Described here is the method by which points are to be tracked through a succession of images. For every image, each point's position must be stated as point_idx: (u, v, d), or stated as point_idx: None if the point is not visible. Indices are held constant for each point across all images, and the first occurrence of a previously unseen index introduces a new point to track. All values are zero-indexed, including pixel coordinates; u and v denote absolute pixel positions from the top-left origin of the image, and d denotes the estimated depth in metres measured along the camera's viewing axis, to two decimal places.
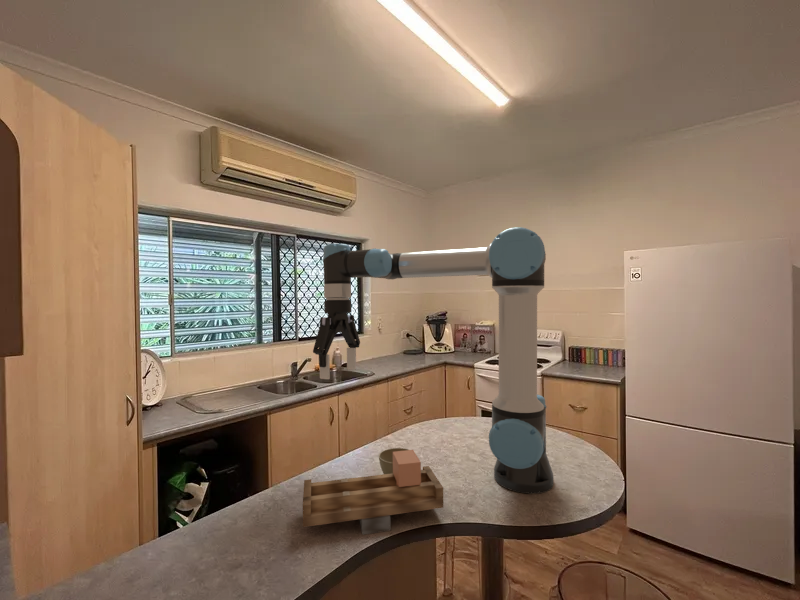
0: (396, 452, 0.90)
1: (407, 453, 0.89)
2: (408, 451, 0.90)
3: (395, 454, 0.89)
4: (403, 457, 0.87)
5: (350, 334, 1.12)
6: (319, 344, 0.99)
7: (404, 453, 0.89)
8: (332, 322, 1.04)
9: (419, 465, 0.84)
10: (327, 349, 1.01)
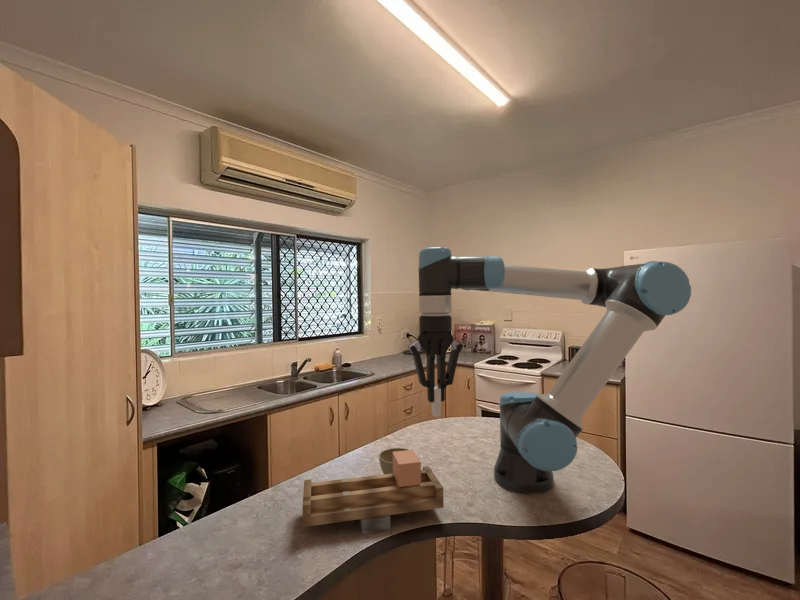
0: (396, 452, 0.90)
1: (407, 453, 0.89)
2: (408, 451, 0.90)
3: (395, 454, 0.89)
4: (403, 457, 0.87)
5: (442, 365, 0.88)
6: (419, 377, 0.88)
7: (404, 453, 0.89)
8: (422, 344, 0.87)
9: (419, 465, 0.84)
10: (432, 381, 0.87)
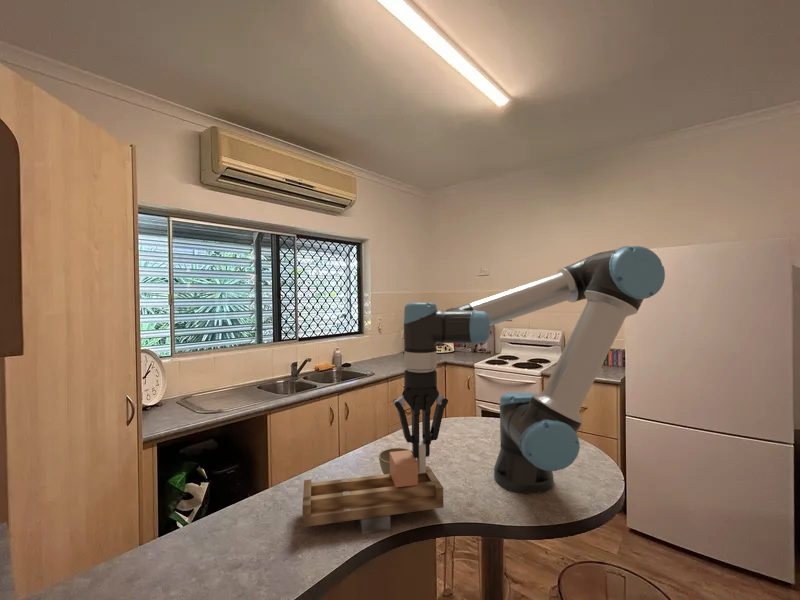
0: (393, 452, 0.90)
1: (403, 453, 0.89)
2: (405, 452, 0.90)
3: (392, 454, 0.88)
4: (400, 457, 0.87)
5: (427, 420, 0.87)
6: (404, 432, 0.87)
7: (401, 453, 0.89)
8: (407, 400, 0.87)
9: (416, 465, 0.84)
10: (416, 437, 0.87)
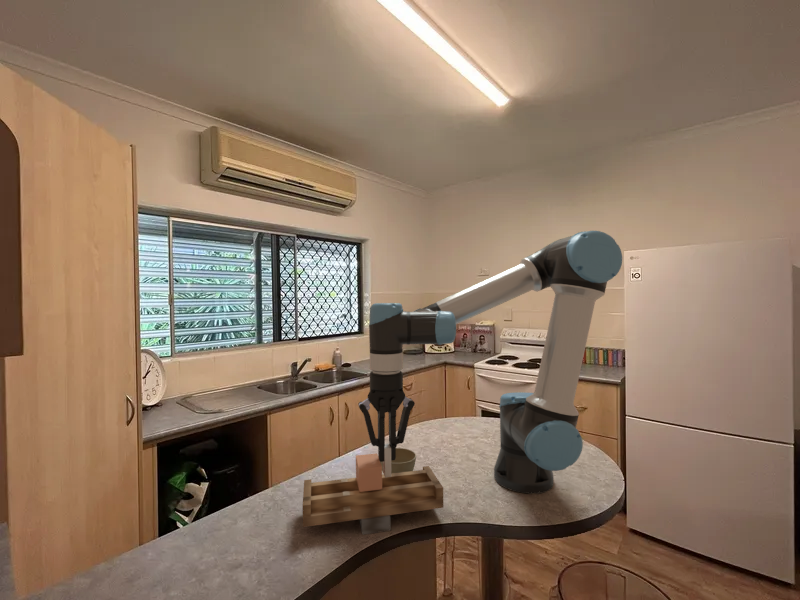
0: (359, 456, 0.88)
1: (369, 457, 0.87)
2: (371, 455, 0.88)
3: (358, 458, 0.87)
4: (365, 461, 0.85)
5: (393, 423, 0.85)
6: (369, 435, 0.85)
7: (367, 457, 0.87)
8: (372, 402, 0.85)
9: (380, 469, 0.83)
10: (382, 440, 0.85)
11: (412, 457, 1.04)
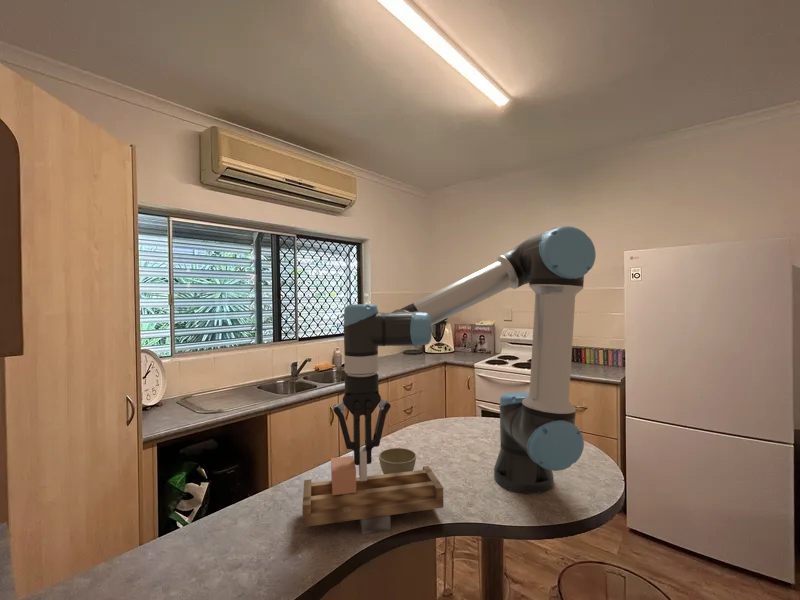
0: (334, 458, 0.87)
1: (345, 460, 0.86)
2: (347, 458, 0.87)
3: (332, 461, 0.86)
4: (340, 464, 0.84)
5: (368, 426, 0.84)
6: (344, 439, 0.84)
7: (342, 459, 0.86)
8: (347, 405, 0.84)
9: (354, 472, 0.81)
10: (357, 444, 0.84)
11: (412, 457, 1.04)
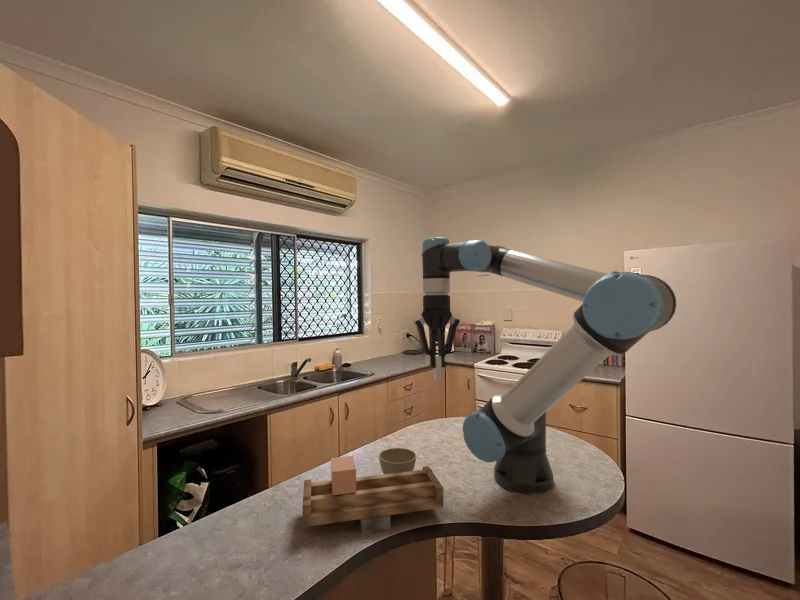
0: (334, 458, 0.87)
1: (345, 460, 0.86)
2: (347, 458, 0.87)
3: (332, 461, 0.86)
4: (340, 464, 0.84)
5: (442, 336, 1.04)
6: (423, 346, 1.04)
7: (342, 459, 0.86)
8: (425, 319, 1.04)
9: (354, 472, 0.81)
10: (434, 350, 1.04)
11: (412, 457, 1.04)
